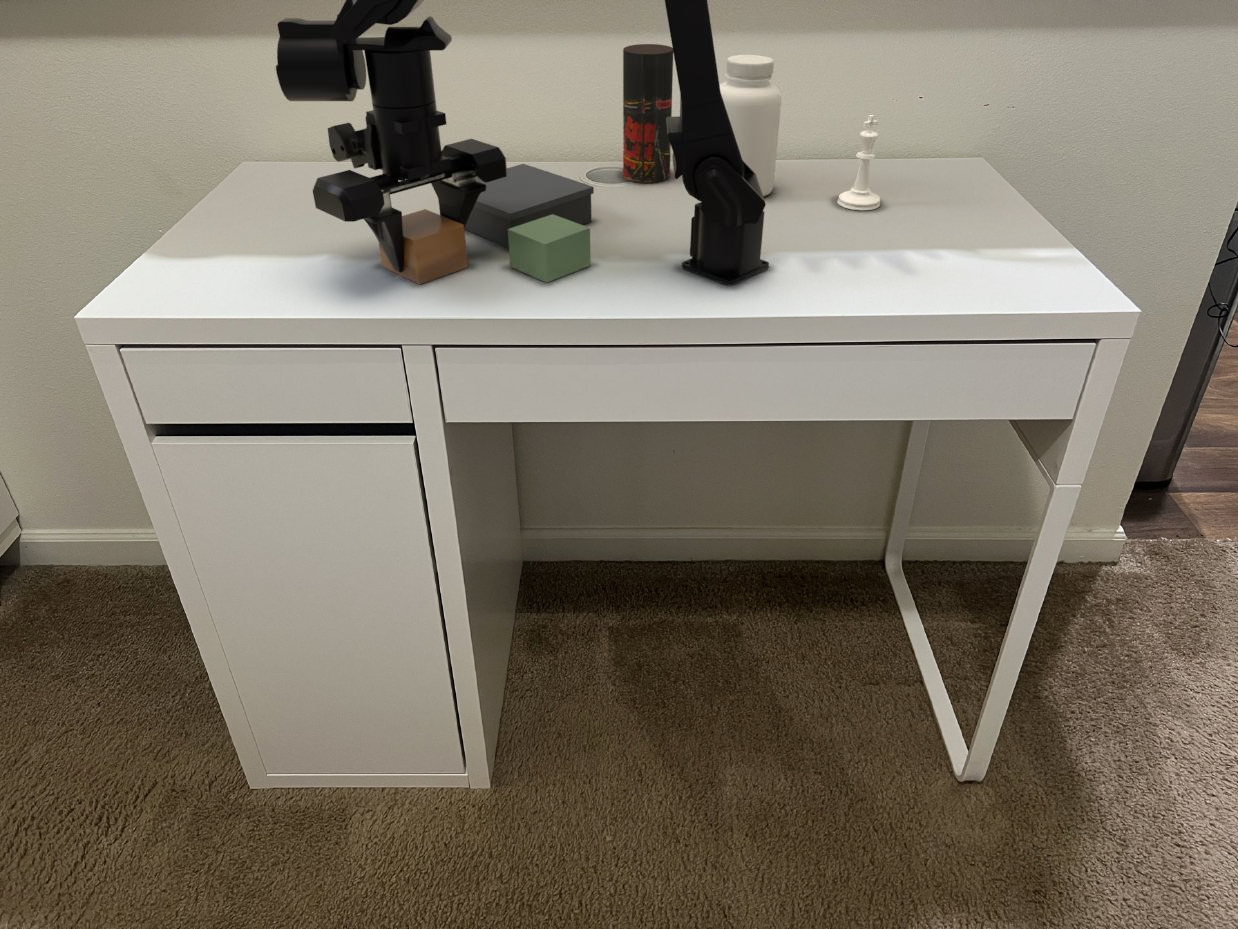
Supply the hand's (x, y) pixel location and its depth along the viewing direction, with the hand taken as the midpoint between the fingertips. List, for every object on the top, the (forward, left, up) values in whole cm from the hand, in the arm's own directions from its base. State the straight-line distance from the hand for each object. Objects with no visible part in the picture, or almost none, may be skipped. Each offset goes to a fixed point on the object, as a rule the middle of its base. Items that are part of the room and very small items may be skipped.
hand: (425, 262), depth 93 cm
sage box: (-9, -9, 0) cm, 13 cm away
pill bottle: (-8, -41, -1) cm, 42 cm away
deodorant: (+4, -37, -1) cm, 37 cm away
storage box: (+3, -15, 0) cm, 15 cm away
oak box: (0, 0, 0) cm, 1 cm away
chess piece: (-21, -47, -1) cm, 51 cm away
